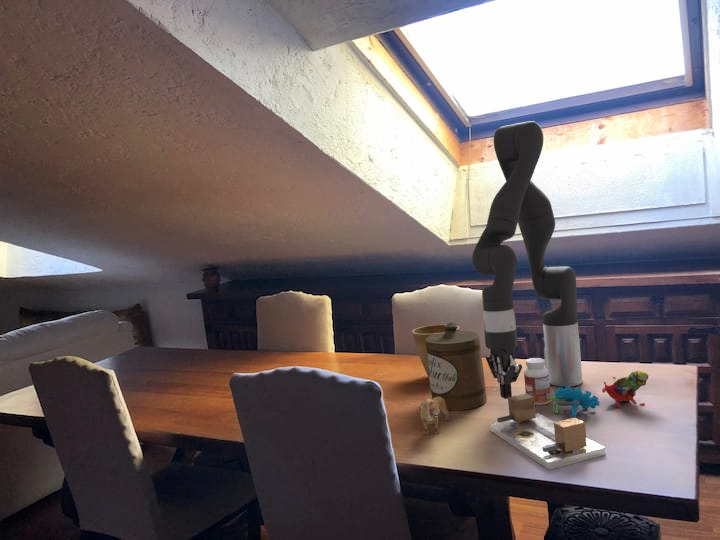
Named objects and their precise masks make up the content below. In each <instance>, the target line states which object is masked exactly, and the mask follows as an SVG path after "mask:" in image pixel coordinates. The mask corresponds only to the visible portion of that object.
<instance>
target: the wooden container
mask: <svg viewBox="0 0 720 540" xmlns="http://www.w3.org/2000/svg"><path fill="white" fill-rule="evenodd" d="M444 325H445V324H444ZM457 326H458V325H457V323H454V322H452V321H451V322H450V321H449V322H447V324H446V325H445V329H446V332H445V333H439V334H435V335H431V336H429V337H427V338H426V348H427V356H428V366H429V377H428V378H430V379H429V385H430V387H429V388H430V394H431V399H433V398H435V397H438V396H439V397H441V398H443V399H444V401H445V404H446V409H447V410H448V411H465V410H467V411H468V410H472V409H476V408H478V407H481V406H482V405H484V404H485V403H486V402H487V389H486V381H485V380H486V379H485V372H484V371H485V370H484V364H483V355H482V350H481V339H480V334H479V333H477V332H474V331H468V330H467V331H466V330H463V331H462V330H461V331H460V330H459V331H457V330H456V329H457Z"/></svg>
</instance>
